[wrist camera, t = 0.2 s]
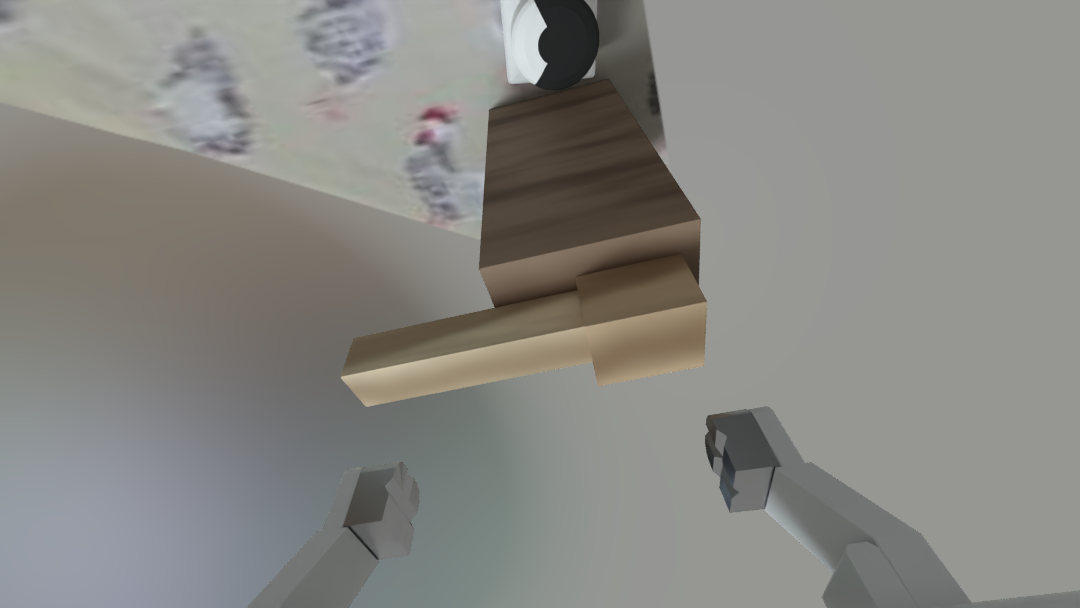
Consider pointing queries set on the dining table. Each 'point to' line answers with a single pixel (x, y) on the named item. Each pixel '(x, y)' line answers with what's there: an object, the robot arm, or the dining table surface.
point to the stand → (575, 196)
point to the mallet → (544, 336)
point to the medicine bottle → (550, 41)
